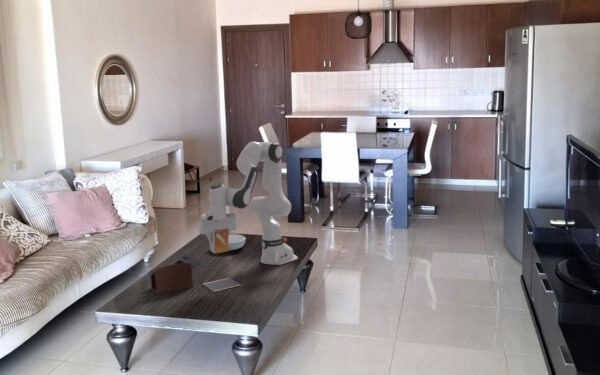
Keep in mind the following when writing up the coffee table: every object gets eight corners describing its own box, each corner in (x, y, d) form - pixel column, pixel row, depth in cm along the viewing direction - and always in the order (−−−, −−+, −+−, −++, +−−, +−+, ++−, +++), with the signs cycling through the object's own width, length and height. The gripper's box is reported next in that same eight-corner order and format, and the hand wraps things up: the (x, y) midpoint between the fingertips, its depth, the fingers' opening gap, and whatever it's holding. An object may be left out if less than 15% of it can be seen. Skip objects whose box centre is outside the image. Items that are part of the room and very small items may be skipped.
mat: (229, 278, 323) (229, 277, 323) (241, 285, 311) (241, 285, 311) (202, 284, 315) (202, 283, 315) (213, 292, 303) (213, 291, 303)
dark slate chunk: (165, 273, 334) (165, 266, 333) (178, 261, 356) (178, 254, 355) (191, 274, 332) (191, 266, 331) (202, 262, 354) (202, 254, 353)
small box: (214, 254, 306) (214, 230, 302) (209, 250, 311) (209, 226, 307) (228, 251, 310) (228, 228, 307) (223, 247, 315) (223, 224, 312)
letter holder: (193, 287, 312) (191, 261, 309) (156, 294, 303) (154, 268, 300) (187, 281, 321) (186, 256, 318) (151, 288, 312) (149, 263, 309)
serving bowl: (244, 253, 367) (243, 242, 365) (210, 254, 367) (210, 243, 366) (247, 243, 387) (247, 233, 386) (215, 244, 387) (215, 234, 386)
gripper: (233, 211, 315) (234, 236, 317) (197, 216, 304) (198, 242, 306) (238, 213, 309) (239, 238, 312) (202, 218, 299) (203, 244, 301)
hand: (218, 240), depth 309 cm, fingers closed on small box, 8 cm apart
